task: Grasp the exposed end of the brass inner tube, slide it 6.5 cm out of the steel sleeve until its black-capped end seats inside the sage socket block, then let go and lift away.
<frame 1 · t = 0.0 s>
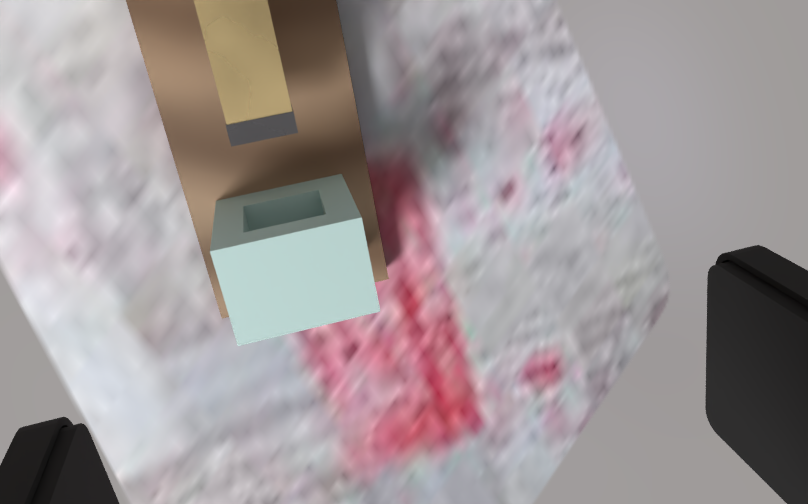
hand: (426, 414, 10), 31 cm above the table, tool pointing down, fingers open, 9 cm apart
sage socket block: (288, 219, 42), resting on walnut base board
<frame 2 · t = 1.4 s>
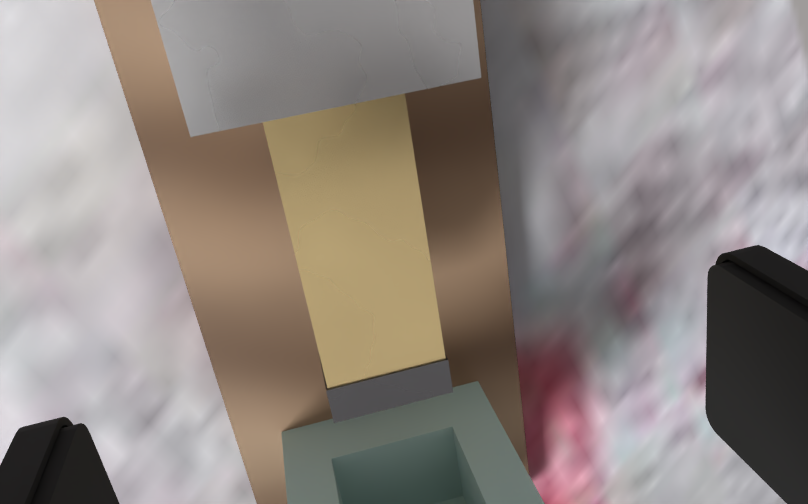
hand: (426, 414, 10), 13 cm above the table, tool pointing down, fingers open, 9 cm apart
sage socket block: (385, 435, 27), resting on walnut base board
walnut base board: (318, 114, 22), on the table
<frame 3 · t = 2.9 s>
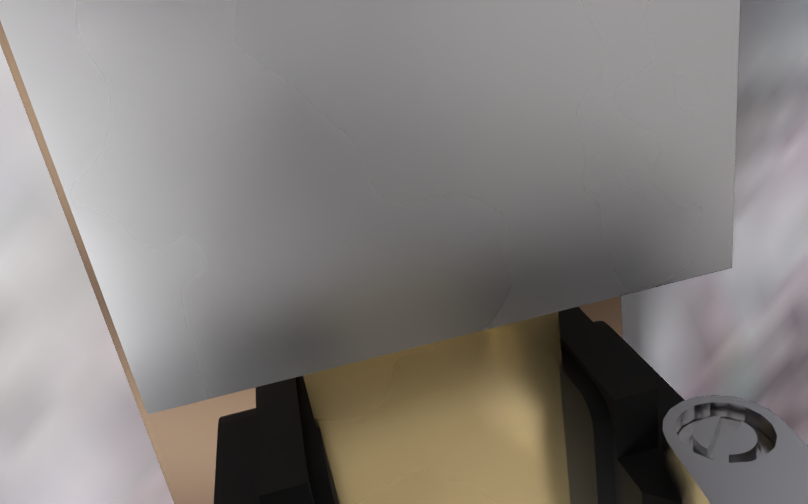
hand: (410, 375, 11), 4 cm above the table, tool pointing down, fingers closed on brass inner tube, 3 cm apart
walnut base board: (360, 229, 15), on the table
brass inner tube: (368, 75, 8), point 5 cm above the table, slide at 8.0 cm, touching gripper
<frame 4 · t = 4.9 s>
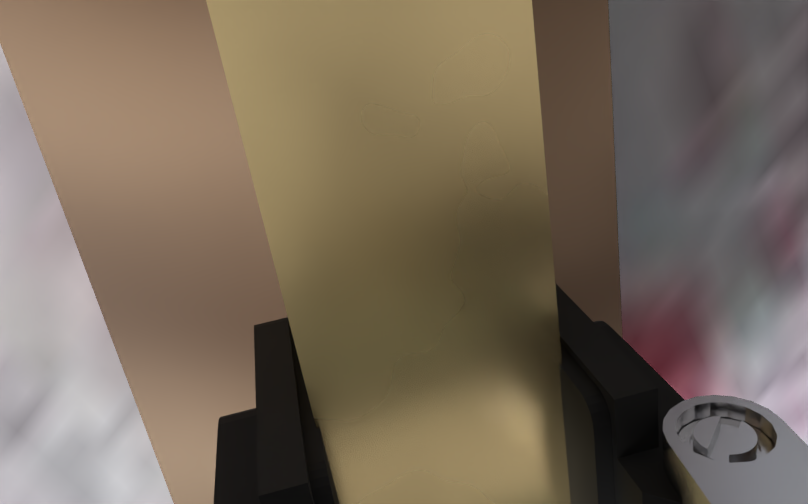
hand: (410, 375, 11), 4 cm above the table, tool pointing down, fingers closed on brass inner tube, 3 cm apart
brass inner tube: (368, 76, 8), point 5 cm above the table, slide at 14.6 cm, touching gripper
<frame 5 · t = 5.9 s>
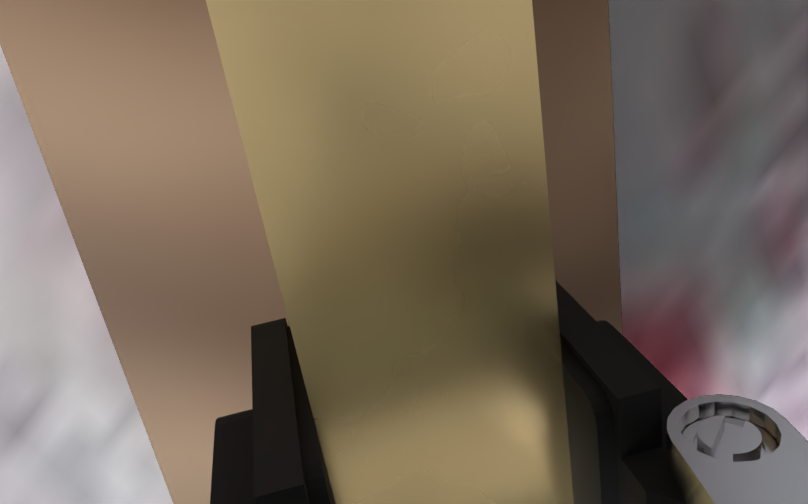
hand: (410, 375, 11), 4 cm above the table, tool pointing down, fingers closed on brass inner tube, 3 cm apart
brass inner tube: (367, 75, 8), point 5 cm above the table, slide at 14.6 cm, touching gripper
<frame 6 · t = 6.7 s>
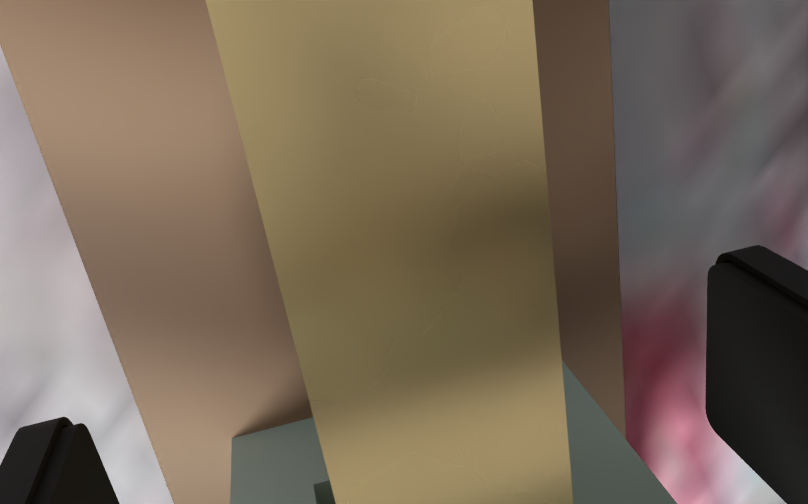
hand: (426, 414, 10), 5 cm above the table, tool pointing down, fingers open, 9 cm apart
sage socket block: (403, 445, 17), resting on walnut base board
brass inner tube: (364, 53, 8), point 6 cm above the table, slide at 14.5 cm
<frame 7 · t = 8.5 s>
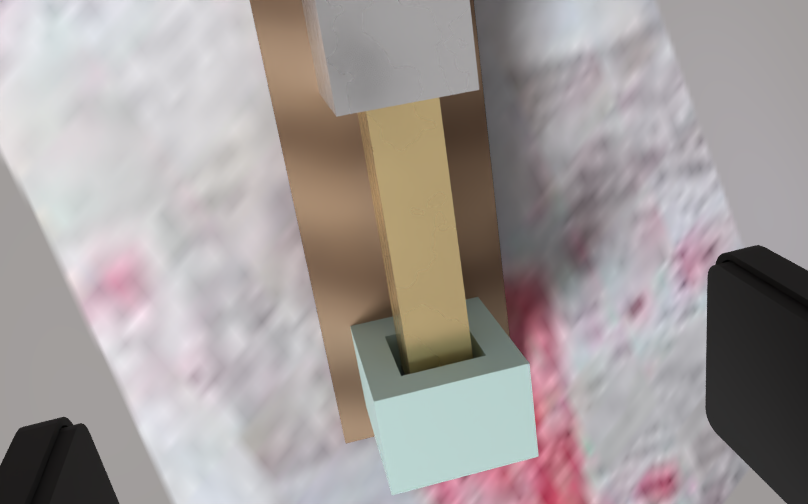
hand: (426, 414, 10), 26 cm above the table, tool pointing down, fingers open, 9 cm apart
sage socket block: (415, 339, 40), resting on walnut base board
walnut base board: (379, 119, 35), on the table
brass inner tube: (410, 197, 31), point 5 cm above the table, slide at 14.5 cm
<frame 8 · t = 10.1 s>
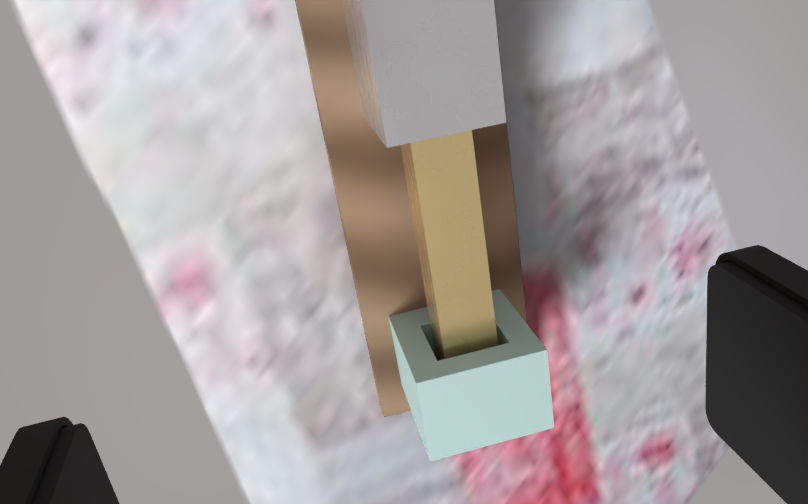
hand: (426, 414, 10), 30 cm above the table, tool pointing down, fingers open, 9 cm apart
sage socket block: (443, 326, 45), resting on walnut base board
walnut base board: (414, 137, 40), on the table
brass inner tube: (445, 209, 36), point 5 cm above the table, slide at 14.5 cm
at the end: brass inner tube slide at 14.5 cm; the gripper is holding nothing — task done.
